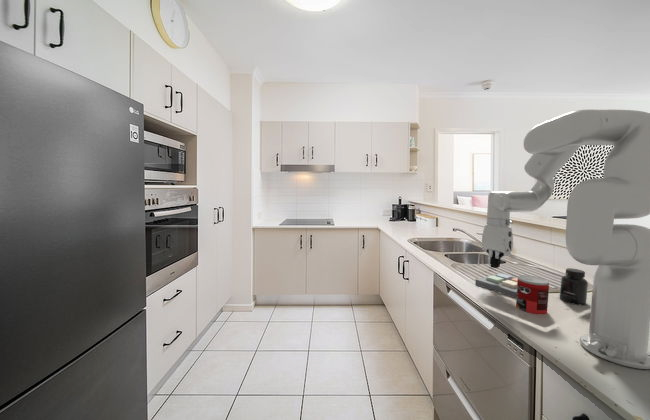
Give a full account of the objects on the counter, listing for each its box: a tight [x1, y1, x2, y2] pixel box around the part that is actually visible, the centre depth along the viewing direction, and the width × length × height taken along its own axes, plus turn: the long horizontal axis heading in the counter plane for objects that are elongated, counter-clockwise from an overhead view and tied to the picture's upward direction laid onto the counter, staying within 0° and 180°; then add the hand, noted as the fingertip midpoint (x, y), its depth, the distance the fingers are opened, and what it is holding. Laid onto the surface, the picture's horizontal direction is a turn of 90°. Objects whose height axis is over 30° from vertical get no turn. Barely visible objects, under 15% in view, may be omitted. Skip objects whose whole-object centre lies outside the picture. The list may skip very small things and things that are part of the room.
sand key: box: [502, 280, 517, 289], centre depth 101 cm, size 4×4×2 cm
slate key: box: [495, 272, 514, 281], centre depth 109 cm, size 4×4×2 cm
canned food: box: [515, 274, 550, 316], centre depth 85 cm, size 8×8×11 cm
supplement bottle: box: [558, 267, 589, 306], centre depth 91 cm, size 7×7×12 cm
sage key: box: [486, 275, 504, 284], centre depth 106 cm, size 4×4×2 cm
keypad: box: [475, 272, 517, 298], centre depth 105 cm, size 17×15×3 cm
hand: (494, 267), depth 106 cm, fingers closed
